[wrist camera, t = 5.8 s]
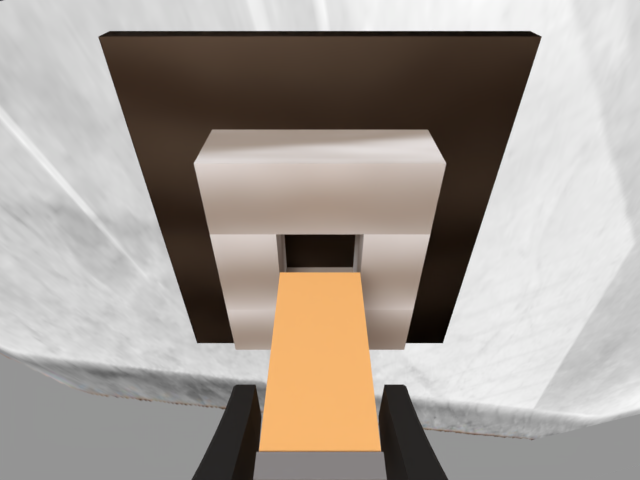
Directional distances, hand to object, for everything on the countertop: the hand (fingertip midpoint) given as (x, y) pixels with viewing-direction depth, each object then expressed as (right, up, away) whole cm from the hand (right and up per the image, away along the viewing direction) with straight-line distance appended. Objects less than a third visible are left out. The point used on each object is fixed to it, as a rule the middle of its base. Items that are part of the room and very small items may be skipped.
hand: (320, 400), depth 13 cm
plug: (0, +3, +3) cm, 4 cm away
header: (0, +6, +8) cm, 10 cm away
